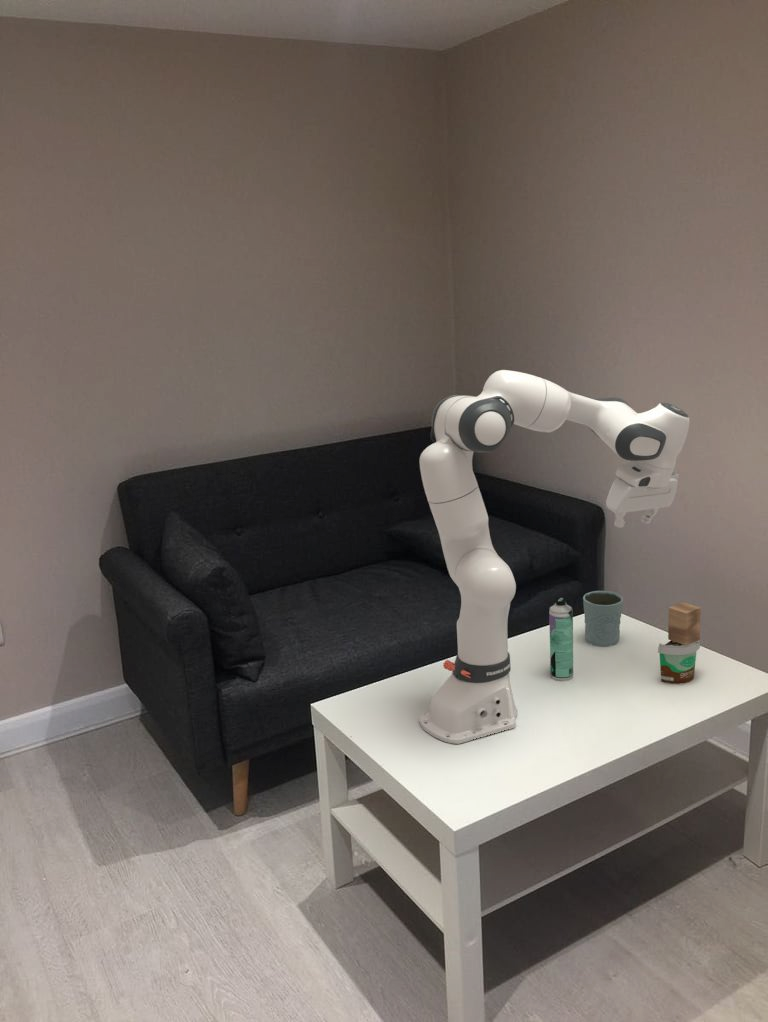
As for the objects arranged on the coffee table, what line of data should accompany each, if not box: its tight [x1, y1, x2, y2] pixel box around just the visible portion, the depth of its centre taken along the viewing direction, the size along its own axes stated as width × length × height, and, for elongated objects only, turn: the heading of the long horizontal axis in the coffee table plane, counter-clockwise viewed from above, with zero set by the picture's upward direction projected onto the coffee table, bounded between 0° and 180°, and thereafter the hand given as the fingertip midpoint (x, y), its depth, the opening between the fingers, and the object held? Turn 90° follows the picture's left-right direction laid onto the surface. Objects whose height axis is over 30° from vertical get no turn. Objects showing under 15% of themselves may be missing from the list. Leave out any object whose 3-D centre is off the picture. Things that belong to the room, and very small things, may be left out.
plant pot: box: [582, 590, 624, 647], centre depth 239 cm, size 10×10×12 cm
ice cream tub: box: [657, 640, 701, 685], centre depth 215 cm, size 12×6×10 cm, turn 131°
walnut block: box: [667, 601, 702, 646], centre depth 213 cm, size 5×5×8 cm
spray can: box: [548, 597, 574, 682], centre depth 220 cm, size 6×6×20 cm
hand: (631, 524), depth 216 cm, fingers open, 8 cm apart
